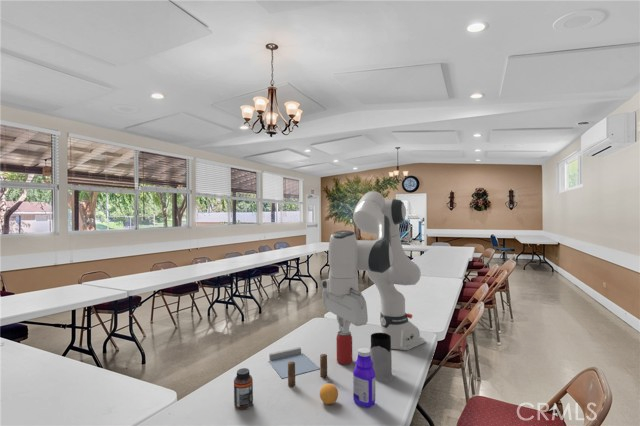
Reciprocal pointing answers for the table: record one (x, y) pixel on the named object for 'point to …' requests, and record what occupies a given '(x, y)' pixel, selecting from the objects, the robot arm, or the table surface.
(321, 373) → the right post
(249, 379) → the supplement bottle
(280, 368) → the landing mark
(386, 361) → the glass holder
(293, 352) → the stopper wall
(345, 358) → the beer can
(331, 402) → the ball
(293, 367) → the left post
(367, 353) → the bottle
